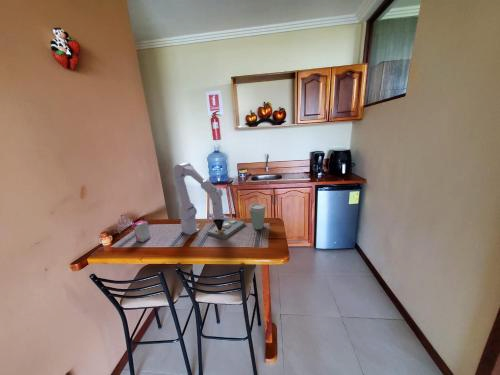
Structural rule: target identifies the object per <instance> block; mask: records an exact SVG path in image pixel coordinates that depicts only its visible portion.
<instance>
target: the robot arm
mask: <svg viewBox="0 0 500 375" xmlns="http://www.w3.org/2000/svg"><path fill="white" fill-rule="evenodd" d="M172 171H173V180H174V184H175V187H176V190H177V195H178V197H179V199H180V204H181V207H180V208H179V212H180V214H179V216H180V218H181V220H180V226H181V231H180V232H181V233H183V234H187V235H189V236H190V235H193V234H195V233H197V232H199V231H201V229H200V228H198V227H197V219H196V215H197V213H198V212H197V208H196V207H195V205H194V203H192V202H191V199H190V195H189V191H188V189H187V185H186V182H185V178H186V177H187V176H188V177H191V178H193V179H194V180H195V181H196V182H197V183H198V184H200V188H202V189H203V190H204V192H206V193H207V194H208V197H209V199H210V200H211V205H212V212H213V213H209V214H208V218H209V219H211V218H212V221H213V223H214V225H215V227H216V226H217V229H218V230H219V231H220V230H222V225H223V222H224V221H229V219H230V216H227V215H225V214H224V210H223V201H222V197H223V195H224V192H223V191H222V189H221V188H220V187H216V186H215V185H214V184H213V183H212V181H210V180H208V179H205V178H203V177H202V176H201V174H200V173H199V172H198V171H197V170H196V169H195V168H194V166H193V165H192V164H191V163H190V162H188V161H187V162H183V163H179V164H175V165H174V166H173V168H172Z"/></svg>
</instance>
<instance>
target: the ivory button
mask: <svg viewBox="0 0 500 375" xmlns="http://www.w3.org/2000/svg"><path fill="white" fill-rule="evenodd" d="M224 228H226V229H228V228H230V224H229V223H225V224H224Z"/></svg>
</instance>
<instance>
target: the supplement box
mask: <svg viewBox="0 0 500 375" xmlns="http://www.w3.org/2000/svg"><path fill="white" fill-rule="evenodd" d="M132 225H133V226H132V227H133V231H134V235H135V240H136V242H139V243H145V242H146V240H147V241H148V240H150V239H151V233H150V227H149V223H148V221H147V220H139V221H136V222H134V223H133V224H132ZM144 241H145V242H144Z"/></svg>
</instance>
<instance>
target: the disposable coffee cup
mask: <svg viewBox="0 0 500 375" xmlns="http://www.w3.org/2000/svg"><path fill="white" fill-rule="evenodd" d="M248 211H249V216H250V218H251V219H250V220H251V223H252V227H253V229H255V230H262V229H263V228H264V225H265V214H266V205H264V204H261V203H252V204H250V205H249V207H248Z"/></svg>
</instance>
